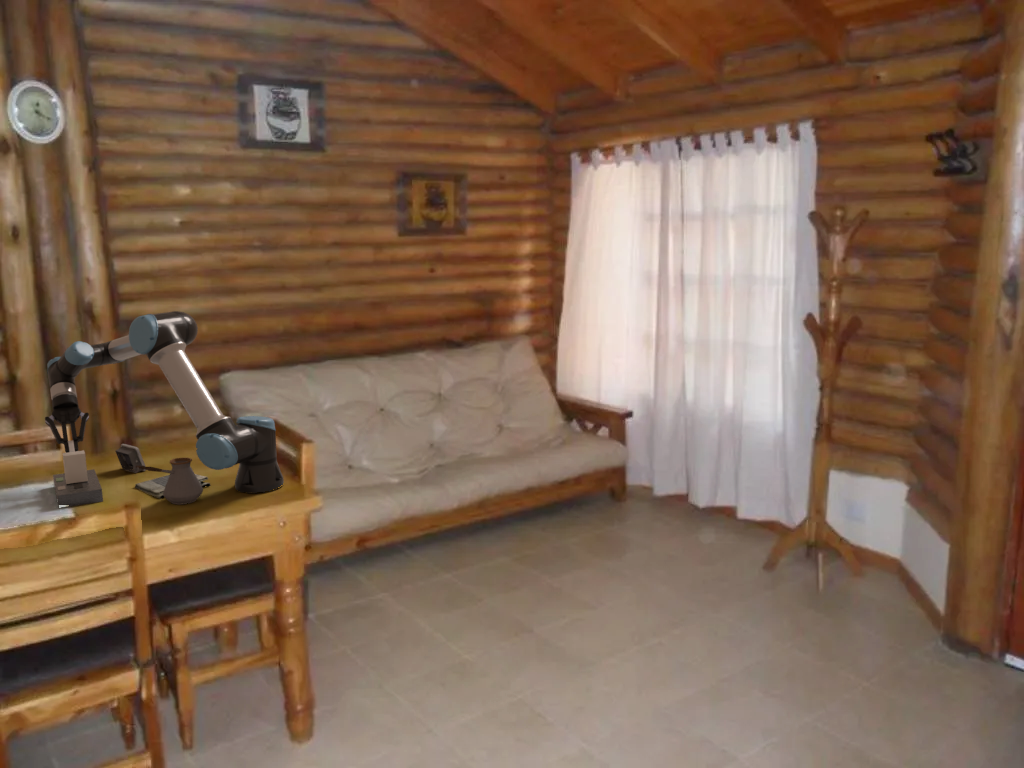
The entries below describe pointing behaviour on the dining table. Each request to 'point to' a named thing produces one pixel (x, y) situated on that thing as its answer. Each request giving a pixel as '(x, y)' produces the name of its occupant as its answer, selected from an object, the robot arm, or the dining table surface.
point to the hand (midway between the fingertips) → (73, 459)
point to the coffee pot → (179, 482)
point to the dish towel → (162, 485)
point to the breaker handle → (75, 467)
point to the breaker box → (78, 490)
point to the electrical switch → (130, 458)
